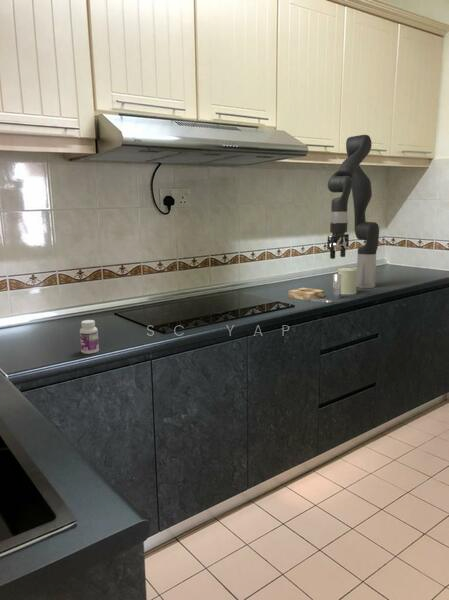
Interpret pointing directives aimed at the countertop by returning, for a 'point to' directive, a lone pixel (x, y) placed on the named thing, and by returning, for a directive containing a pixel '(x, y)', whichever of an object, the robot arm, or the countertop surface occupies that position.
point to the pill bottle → (89, 337)
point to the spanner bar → (320, 300)
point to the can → (348, 280)
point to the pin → (337, 286)
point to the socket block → (306, 293)
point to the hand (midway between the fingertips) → (337, 257)
